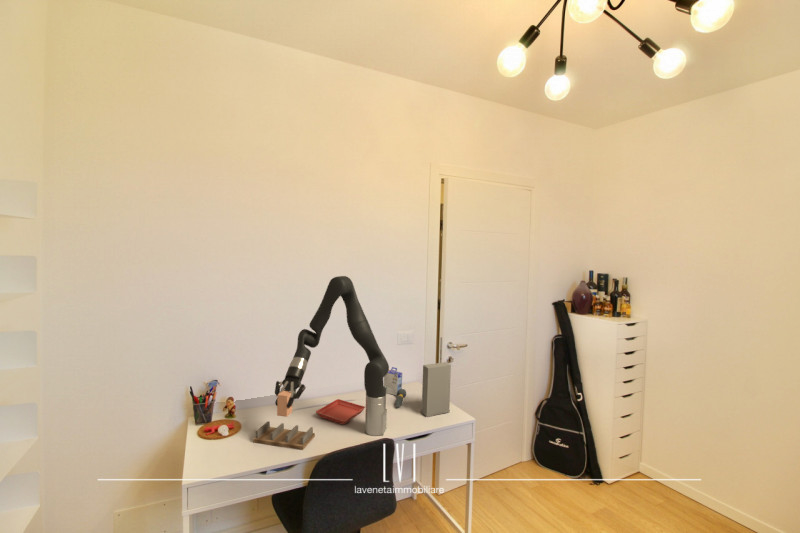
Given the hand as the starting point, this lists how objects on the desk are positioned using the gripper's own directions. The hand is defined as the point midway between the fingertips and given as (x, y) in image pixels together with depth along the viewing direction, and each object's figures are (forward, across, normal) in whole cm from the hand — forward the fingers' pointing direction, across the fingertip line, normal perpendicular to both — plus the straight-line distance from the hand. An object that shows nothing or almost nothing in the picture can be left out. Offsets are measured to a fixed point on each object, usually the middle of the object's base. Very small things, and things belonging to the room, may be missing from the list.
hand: (282, 406), depth 150 cm
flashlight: (-26, +42, +49) cm, 69 cm away
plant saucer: (-10, +15, +32) cm, 37 cm away
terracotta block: (+2, 0, +4) cm, 5 cm away
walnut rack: (+10, 0, +12) cm, 16 cm away
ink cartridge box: (-34, +34, +56) cm, 74 cm away
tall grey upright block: (-21, +61, +42) cm, 77 cm away
